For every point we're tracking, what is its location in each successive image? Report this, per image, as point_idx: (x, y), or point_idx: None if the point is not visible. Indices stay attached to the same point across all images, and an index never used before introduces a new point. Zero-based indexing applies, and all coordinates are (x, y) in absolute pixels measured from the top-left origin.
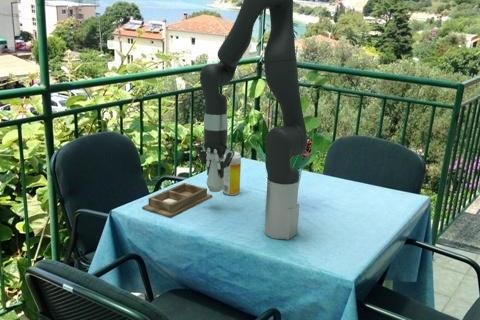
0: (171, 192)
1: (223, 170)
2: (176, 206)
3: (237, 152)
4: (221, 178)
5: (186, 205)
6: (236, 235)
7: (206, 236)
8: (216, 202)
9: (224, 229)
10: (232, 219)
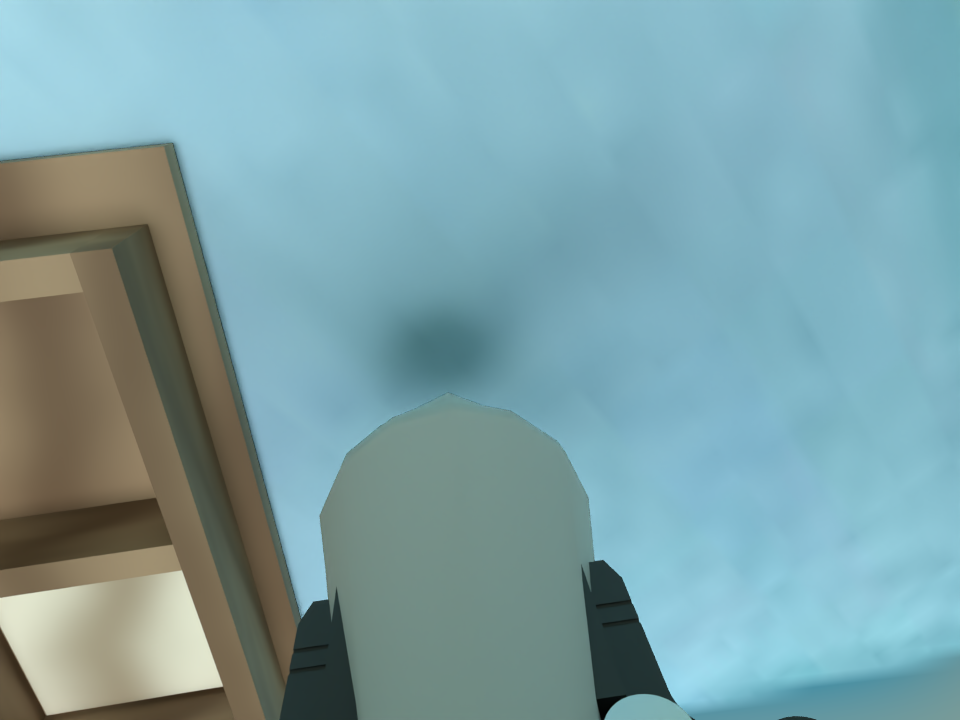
0: None
1: (659, 680)
2: (268, 687)
3: None
4: None
5: (243, 551)
6: (855, 579)
7: (700, 699)
8: (332, 235)
9: (743, 574)
10: (704, 424)
